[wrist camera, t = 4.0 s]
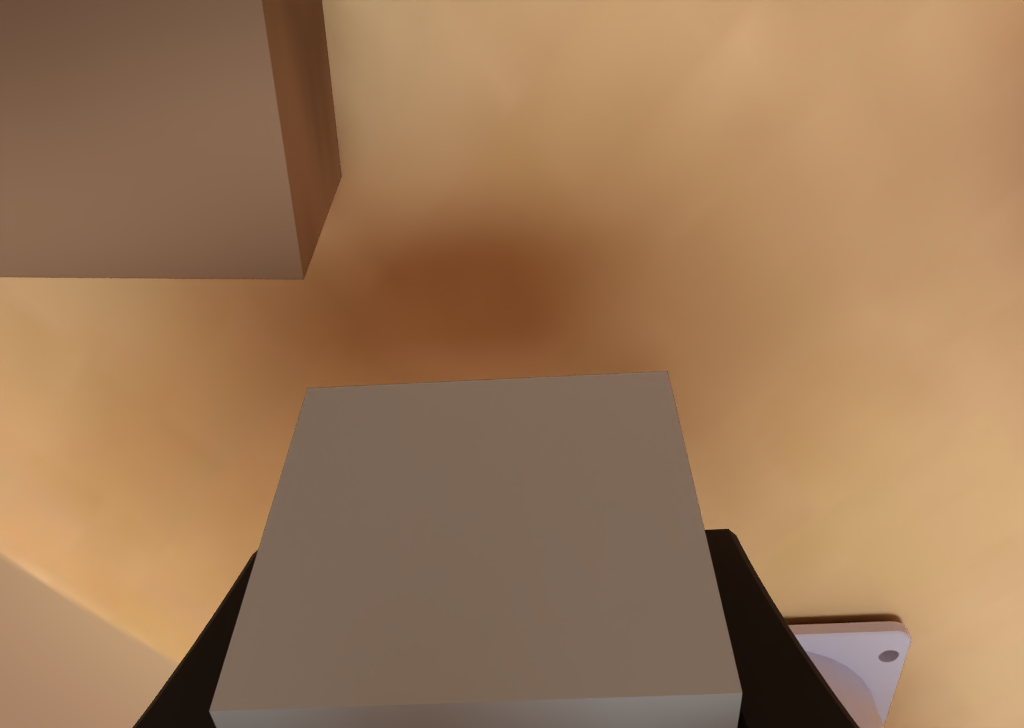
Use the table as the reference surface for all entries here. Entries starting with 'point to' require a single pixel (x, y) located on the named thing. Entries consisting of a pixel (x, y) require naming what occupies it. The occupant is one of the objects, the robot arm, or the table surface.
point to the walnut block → (164, 138)
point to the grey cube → (484, 565)
